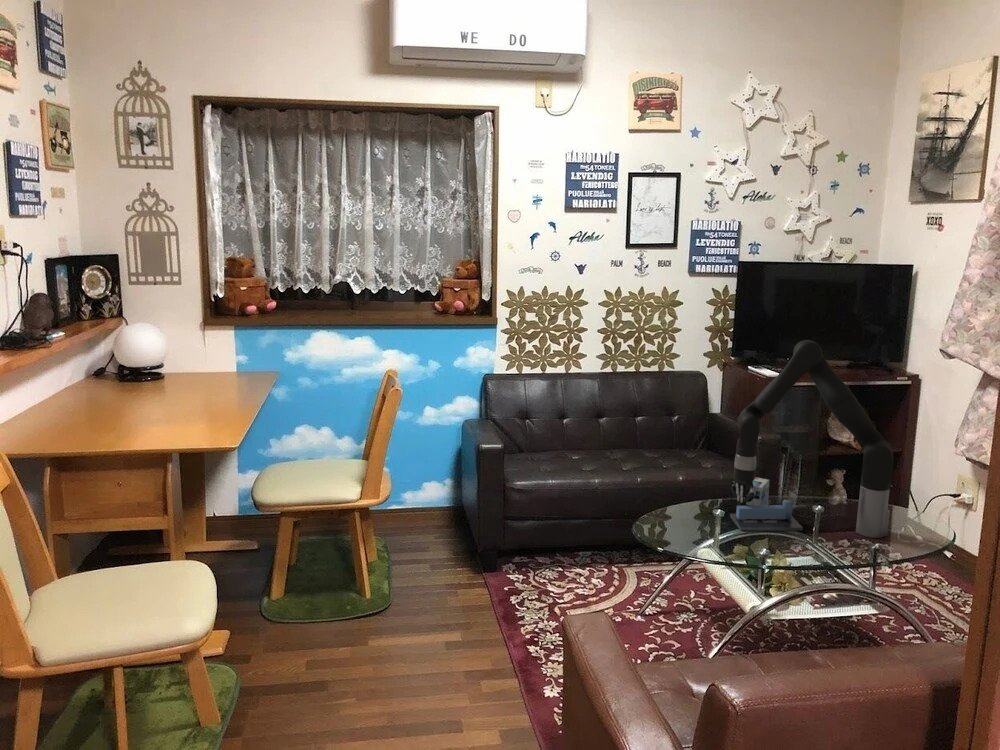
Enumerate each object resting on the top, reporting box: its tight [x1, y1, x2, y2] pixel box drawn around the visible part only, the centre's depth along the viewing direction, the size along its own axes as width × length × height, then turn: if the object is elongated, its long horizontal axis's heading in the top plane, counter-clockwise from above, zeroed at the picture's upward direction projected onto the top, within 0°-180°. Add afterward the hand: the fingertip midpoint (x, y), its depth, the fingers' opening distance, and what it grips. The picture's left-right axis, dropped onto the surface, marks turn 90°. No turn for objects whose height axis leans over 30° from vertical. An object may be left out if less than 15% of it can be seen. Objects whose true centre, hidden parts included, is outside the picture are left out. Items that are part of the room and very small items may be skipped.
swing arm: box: [735, 499, 794, 519], centre depth 288 cm, size 20×4×6 cm, turn 91°
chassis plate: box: [729, 513, 804, 532], centre depth 288 cm, size 22×13×2 cm, turn 90°
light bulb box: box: [744, 476, 770, 506], centre depth 301 cm, size 11×7×11 cm, turn 147°
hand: (741, 510), depth 292 cm, fingers closed
